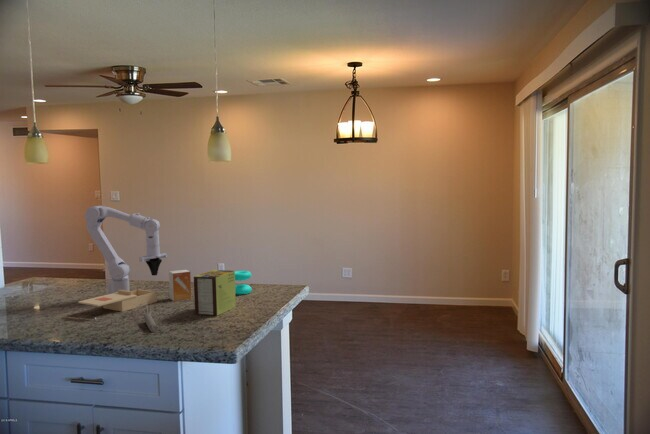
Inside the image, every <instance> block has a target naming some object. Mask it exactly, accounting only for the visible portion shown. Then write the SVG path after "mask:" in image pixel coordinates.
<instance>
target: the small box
mask: <svg viewBox="0 0 650 434" xmlns="http://www.w3.org/2000/svg"><path fill="white" fill-rule="evenodd" d="M191 279H192V277H191V271H190V270H188V269H181V270H180V269H179V270H171V271H168V286H169V287H168V293H169V300H172V302H177V301H184V300H185V301H186V300H192V282H191V281H192V280H191Z"/></svg>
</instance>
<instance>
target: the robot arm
mask: <svg viewBox="0 0 650 434" xmlns="http://www.w3.org/2000/svg"><path fill="white" fill-rule="evenodd" d="M84 218H85V225H86V231H87V232H88V234H89V235H90V238H91V239H92V240H93V243H95V245H96V247H97V248H98V250H99V251H100V253H101V255H102V256H103V258H104V260H105V261H106V262H107V269H108V271H109V276H110V280H108V282H107V295H108V294H112V293H116V292H118V290H126V291H131V290H130V277H129V275H130V273H131V267H130V265H129V264H127V263H126V262H125V261H124V259H123V258H121V257H120V256H119V255H118V254H117V252H116V250H115V248H114V247H113V246H112V244H111V242H110V240H109V239H108V238H107V236H106V234H105V233H104V231H103V230H102V228H101V227H102V224H103V222H104V221H105V220H106V218H114V219H118V220H120V221H125V222H127V223H128V224H129V226H131V227H134V228H138V229H140V230H144V231H145V240H146V241H145V244H146V247H145V248H146V255H143V256H141V257H139V259H138V260H139V263H144V262H145V263H146V264H147V266H148V268H149V270H150V271H149V272H150V273H151V276H158V273H159V268H160V265H161V263H162V261H163V260H162V259H163V258H168V253H166V252H163V253H161V247H160V228H161V222H160V221H159V220H158V219H156V218H151V217H150V216H144V215H141V213H138V212H136V213H132V214H129V213H126V212H123V211H121V210H118V209H115V208H113V207H110V206H104V205H102V204H101V205H95V206H93V205H92V206H89V207H88V208H86V210H85V213H84Z"/></svg>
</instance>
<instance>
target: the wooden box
mask: <svg viewBox="0 0 650 434" xmlns="http://www.w3.org/2000/svg"><path fill="white" fill-rule="evenodd" d="M132 291H133V295H137V297H133V298H129V299H125V300H122V301H118V302H114V303H110V304H106V305H102V307H103V309H106V310H111V311H118V312H126V311H128V310H132V309H135V307H137V306H138V307H137V308H141V306H142V307H144V306H148V305H150V304H151V305H152V304H154V303H157V302H158V294H157V291H153V290H146V289H134V290H132ZM144 299H145V300H146V301H145V300H144ZM138 300H139V301H138ZM139 302H140V303H139ZM143 303H144V304H143ZM146 303H147V304H146ZM149 303H150V304H149ZM134 304H135V305H134ZM139 304H142V305H141V306H139ZM143 305H144V306H143Z"/></svg>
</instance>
